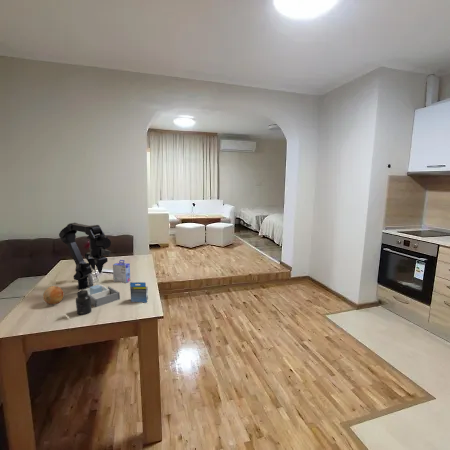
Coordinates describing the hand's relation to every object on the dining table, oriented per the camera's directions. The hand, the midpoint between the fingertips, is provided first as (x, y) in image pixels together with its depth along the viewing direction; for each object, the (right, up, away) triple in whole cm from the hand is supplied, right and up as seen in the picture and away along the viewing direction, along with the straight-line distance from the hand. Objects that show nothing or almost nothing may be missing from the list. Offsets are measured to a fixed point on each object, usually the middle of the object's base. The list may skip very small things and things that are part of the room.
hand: (96, 271), depth 170 cm
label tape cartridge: (+29, -16, -11) cm, 35 cm away
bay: (+8, -15, -11) cm, 20 cm away
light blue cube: (+2, -13, -5) cm, 14 cm away
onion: (-17, -16, -14) cm, 27 cm away
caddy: (+1, -14, -4) cm, 14 cm away
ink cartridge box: (+9, -10, +19) cm, 23 cm away
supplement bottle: (+5, -18, -25) cm, 31 cm away
